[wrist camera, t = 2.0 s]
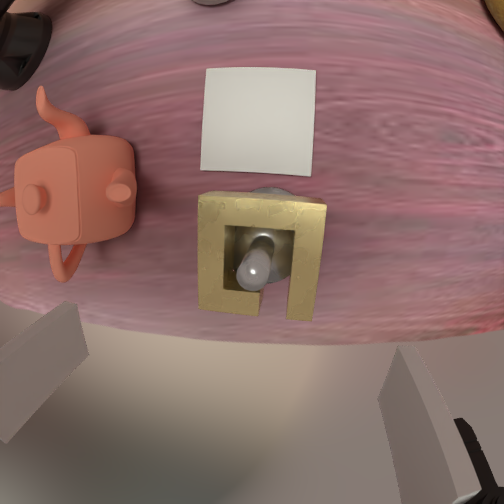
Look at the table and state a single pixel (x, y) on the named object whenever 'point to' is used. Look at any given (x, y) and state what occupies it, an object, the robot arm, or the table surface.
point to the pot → (73, 189)
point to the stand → (262, 251)
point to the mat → (258, 120)
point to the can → (209, 1)
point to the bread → (496, 11)
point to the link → (264, 216)
